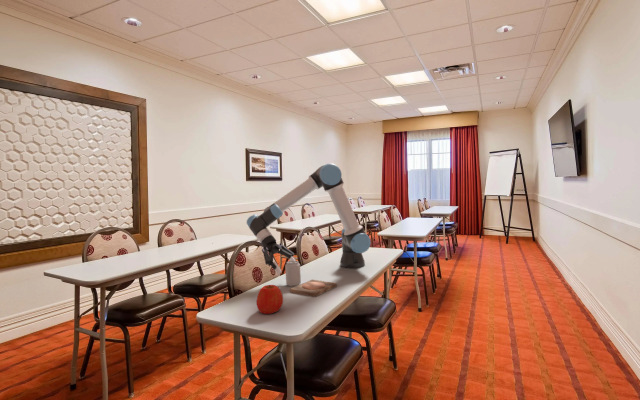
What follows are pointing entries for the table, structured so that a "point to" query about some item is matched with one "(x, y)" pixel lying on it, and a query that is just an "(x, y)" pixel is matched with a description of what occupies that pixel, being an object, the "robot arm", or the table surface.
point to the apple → (269, 299)
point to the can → (293, 273)
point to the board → (313, 287)
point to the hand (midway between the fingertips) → (289, 270)
